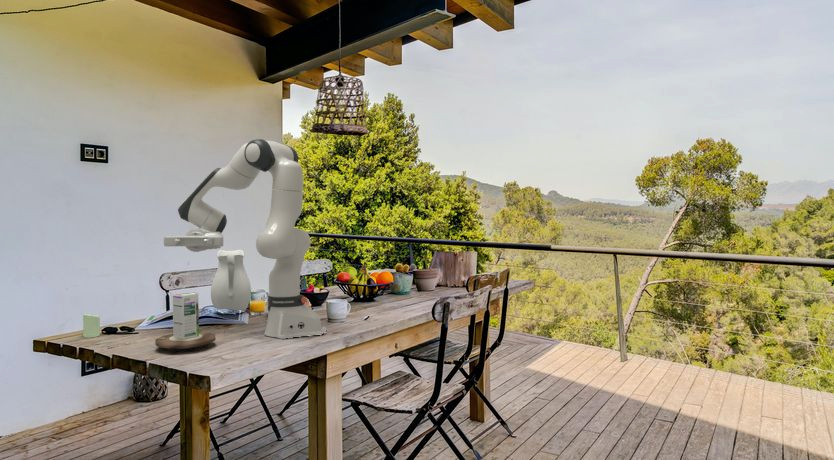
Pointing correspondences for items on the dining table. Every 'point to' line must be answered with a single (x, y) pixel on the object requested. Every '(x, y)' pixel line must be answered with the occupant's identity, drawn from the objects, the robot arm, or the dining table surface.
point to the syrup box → (185, 315)
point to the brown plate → (185, 340)
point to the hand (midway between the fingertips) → (192, 242)
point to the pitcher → (230, 282)
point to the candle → (91, 326)
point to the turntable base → (185, 348)
